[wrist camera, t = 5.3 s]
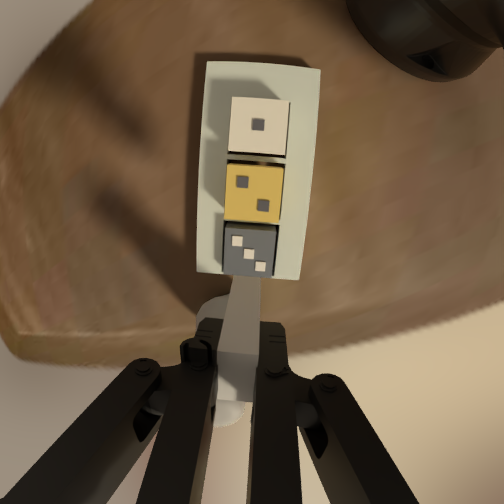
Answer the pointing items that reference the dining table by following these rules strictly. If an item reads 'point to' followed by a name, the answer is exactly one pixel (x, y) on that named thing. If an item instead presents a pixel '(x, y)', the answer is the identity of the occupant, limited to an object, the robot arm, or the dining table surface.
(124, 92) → the dining table surface
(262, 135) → the tile
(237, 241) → the tile
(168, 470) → the robot arm
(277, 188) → the tile
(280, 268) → the tile board
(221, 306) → the salt shaker
